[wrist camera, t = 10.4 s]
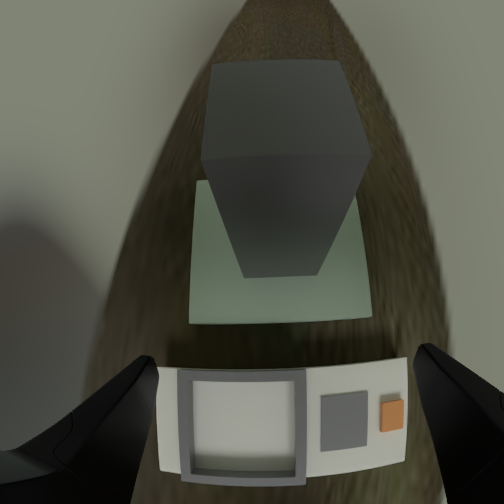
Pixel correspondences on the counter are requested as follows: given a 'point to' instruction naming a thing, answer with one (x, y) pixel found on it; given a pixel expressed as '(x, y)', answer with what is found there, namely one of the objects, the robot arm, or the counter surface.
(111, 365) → the counter surface
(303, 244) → the brick
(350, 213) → the rubber mat
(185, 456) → the power strip
